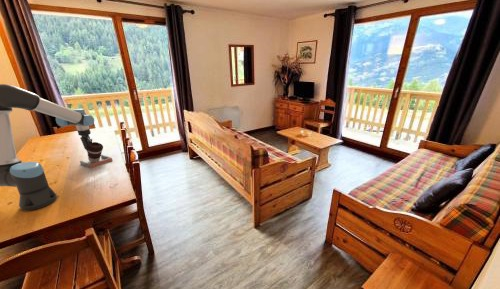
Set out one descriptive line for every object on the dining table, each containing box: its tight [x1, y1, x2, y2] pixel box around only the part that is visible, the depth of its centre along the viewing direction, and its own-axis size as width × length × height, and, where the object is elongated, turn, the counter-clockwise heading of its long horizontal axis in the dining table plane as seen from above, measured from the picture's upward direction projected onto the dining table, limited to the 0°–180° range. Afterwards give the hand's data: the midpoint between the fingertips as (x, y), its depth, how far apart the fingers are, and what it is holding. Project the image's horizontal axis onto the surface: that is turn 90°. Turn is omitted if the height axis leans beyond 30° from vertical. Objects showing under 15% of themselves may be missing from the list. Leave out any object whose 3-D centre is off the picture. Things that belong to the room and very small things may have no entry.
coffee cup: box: [86, 141, 104, 163], centre depth 160 cm, size 10×10×15 cm
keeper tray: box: [79, 154, 113, 169], centre depth 162 cm, size 16×14×2 cm
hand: (91, 158), depth 166 cm, fingers closed
